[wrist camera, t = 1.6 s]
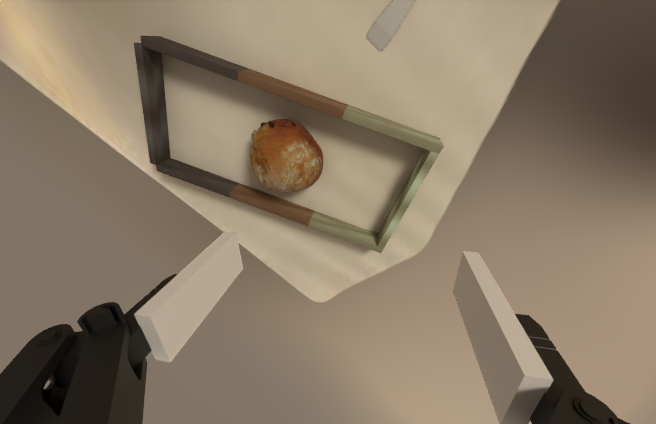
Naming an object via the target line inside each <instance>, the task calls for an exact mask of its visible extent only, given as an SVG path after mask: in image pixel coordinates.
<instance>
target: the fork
mask: <svg viewBox="0 0 656 424" xmlns="http://www.w3.org/2000/svg"><path fill="white" fill-rule="evenodd" d="M414 1H415V0H393V1H392V2H391V3H390V4H389V5H388V6H387V8H386V9H385V10H384V11H383V12H382V14H381V15H380V16H379V17H378V18H377V20H376V21H375V22H374V24H373V25H372V27H371V28H370V30H369V31H368V33H367V37H366V39H367V40H368V41H369V42H370V43H371V44H372V45H373V46H374V47H375V48H376V49H377V50H378V51H383V50H384V49H385V48H386V46H387V45H388V44H389V42H390V41H391V39H392V38H393V37H394V35H395V33H396V32H397V30H398V28H399V27H400V25H401V23H402V22H403V20H404V18H405V17H406V15H407V13H408V12H409V10H410V8H411V7H412V5H413V3H414Z"/></svg>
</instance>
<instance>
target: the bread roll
mask: <svg viewBox="0 0 656 424" xmlns="http://www.w3.org/2000/svg"><path fill="white" fill-rule="evenodd" d="M258 129H259V131H256V130H255V131H253V133H252V134H251V135H252V137H251V139H252V141H253V146H252V150H251V151H250V156H251V163H252V168H253V171H254V174H255V176H256V178H257V179H258V181H259V182H260V183H261V184H262V185H263V186H265V187H267V188H269V189H272V190H276V191H279V192H283V193H286V192H291V191H298V190H302V189H305V188H308V187H310V186H311V185H313V184H314V183H315V182H316V181H317V180H318V178H319V176H320V175H321V172H322V168H323V154H322V151H321V148H320V147H319V145H318V144H317V142H316V141H315V140H314V138H313V137H312V136H311V134H310V133H309V132H308V131H307V130H306V129H305V128H304V127H303V126H301V125H300V124H299V123H296V122H292V121H290V120H288V119H280V120H273V121H269V122H267V123H261V127H260V128H258Z"/></svg>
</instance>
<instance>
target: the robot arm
mask: <svg viewBox="0 0 656 424" xmlns="http://www.w3.org/2000/svg"><path fill="white" fill-rule="evenodd" d="M242 269H243V265H242V260H241V255H240V250H239V246H238V240H237V235H236V233H235V232H224V233H223V234H222V235H221V236H220V237H218V238H217V239H216V240H215V241H214V242H213V243H212V244H211V245H210V246H208V247H207V248H206V249H205V250H204V251H203V252H202V253H201V254H200V255H199V256H197V257H196V258H195V259H194V260H193V261H192V262H191V263H190V264H189V265H188V266H187V267H185V268H184V269H183V270H182V271H181V272H180V273H179V274H174V275H172V276H170V277H168V278H167V279H165V280H163V281H162V282H161V283H160V284H159V285H158V286H157V287H156V288H155V289H153V290H152V291H151V292H150V293H149V295H146V296H145V297H144V298H143V299H142V300H141V301H139V302H138V303H137V304H136V305H135V306H134V307H133V308H131V309H130V310H129V311H128V312H127V313H126V314H125V315H124V314H123V312H122V310H121V308H120V306H119V304H117V303H114V302H109V303H104V304H101V305H98V306H96V307H94V308H92V309H90V310H88V311H87V312H86V313H84V314H83V315H82V316H81V317H80V318H79V320H78V324H79V325H80V327H81V328H82V330H83V331H81V332H74V330H73V329H72V327H71V326H70V325H68V324H60V325H56V326H53V327H51V328H48V329H46V330H44V331H42V332H41V333H39V334H38V335H36V336H35V337H34V338H32V339H31V340H30V341H29V342H28V343H27V344H26V346H25V347H24V348H23V349H22V350H21V351H20V353H19V354H18V355H17V356H16V357H15V358H14V359H13V361H11V363H10V364H9V365H8V366H7V367H6V369H4V371H3V372H2V373H1V374H0V424H142V420H143V408H144V395H145V383H146V371H147V361H146V358H145V357H146V356H147V355H148V354H149V352H150V351H152V353H153V355H154V357H155V359H156V360H161V361H166V362H171V361H172V360H173V359H174V357H175V356H176V355H177V353H178V352H179V351H180V350H181V348H182V347H183V345H184V344H185V343H186V342H187V340H188V339H189V338H190V337H191V335H192V334H193V333H194V331H195V330H196V329H197V328H198V326H199V325H200V323H201V322H202V321H203V320H204V318H205V317H206V316H207V315H208V313H209V312H210V311H211V309H212V308H213V307H214V306H215V304H216V303H217V302H218V300H219V299H220V298H221V296H222V295H223V294H224V293H225V291H226V290H227V288H228V287H229V286H230V285H231V284H232V282H233V281H234V280H235V278H236V277H237V275H238V274H239V273H240V272H241V270H242ZM453 293H454V296H455V298H456V301H457V304H458V307H459V310H460V313H461V316H462V318H463V321H464V324H465V327H466V330H467V332H468V335H469V338H470V341H471V344H472V347H473V349H474V352H475V355H476V358H477V361H478V364H479V366H480V370H481V372H482V375H483V378H484V381H485V384H486V387H487V389H488V392H489V395H490V398H491V401H492V404H493V406H494V409H495V412H496V415H497V418H498V421H499V424H528V423H529V422H530V420H531V423H532V424H630V423H627V422H625V421H623V420H621V419H619V418H617V416H616V415H615V414H614V413H613V412H612V411H611V410H610V409H609V408H608V407H607V405H605V404H604V403H603V402H601V401H599V400H598V399H597V398H595V397H594V396H592V395H590V394H588V393H586V392H585V391H584V389H583V388H582V386H581V385H580V383H579V382H578V380H577V379H576V377H575V376H574V374H573V373H572V371H571V370H570V368H569V367H568V365H567V364H566V362H565V361H564V359H563V358H562V356H561V355H560V354H559V352H558V351H556V348H555V346H554V345H553V343H552V342H551V341H550V340H549V337H548V336H547V334H546V333H545V331H544V330H543V328H542V327H541V326H540V325H539V324H538V323H537V322H536V321H534V320H533V319H532V318H531V317H530V316H529V315H521V314H514V312H513V310H512V309H511V307H510V305H509V304H508V302H507V300H506V298H505V297H504V295H503V294H502V292H501V290H500V288H499V287H498V285H497V283H496V282H495V280H494V278H493V276H492V275H491V273H490V271H489V270H488V268H487V266H486V265H485V263H484V261H483V260H482V258H481V256H480V254H479V253H476V252H464V251H463V253H462V257H461V261H460V265H459V269H458V273H457V277H456V281H455V285H454V289H453ZM48 379H49V381H50V382H51V383H50V384H49V386H48V387H47V388H46V389H43V388H44V386H45V384H46V382H47V381H48Z"/></svg>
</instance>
